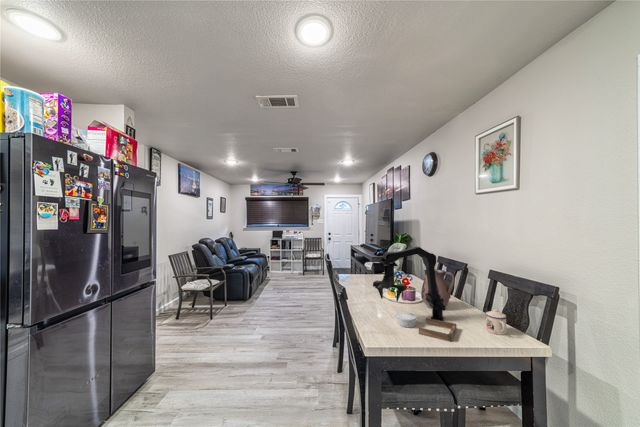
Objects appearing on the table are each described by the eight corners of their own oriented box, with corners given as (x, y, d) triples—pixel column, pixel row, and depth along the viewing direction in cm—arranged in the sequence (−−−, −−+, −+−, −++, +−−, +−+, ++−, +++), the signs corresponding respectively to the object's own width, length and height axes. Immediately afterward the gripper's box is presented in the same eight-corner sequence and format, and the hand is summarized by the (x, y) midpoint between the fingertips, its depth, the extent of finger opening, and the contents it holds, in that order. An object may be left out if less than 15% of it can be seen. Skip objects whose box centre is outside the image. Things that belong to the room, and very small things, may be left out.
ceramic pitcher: (422, 301, 186) (421, 267, 187) (454, 305, 176) (454, 269, 177) (420, 309, 170) (419, 271, 171) (456, 313, 161) (455, 274, 162)
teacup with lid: (482, 327, 139) (482, 306, 140) (500, 328, 138) (499, 306, 139) (495, 337, 128) (494, 314, 128) (514, 338, 127) (514, 314, 127)
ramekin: (408, 330, 137) (408, 320, 137) (392, 323, 146) (392, 314, 146) (421, 325, 143) (421, 316, 143) (404, 319, 152) (404, 310, 153)
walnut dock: (426, 323, 146) (426, 317, 146) (456, 329, 137) (456, 323, 138) (418, 334, 132) (418, 328, 132) (451, 341, 123) (450, 335, 124)
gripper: (368, 274, 150) (369, 300, 149) (400, 278, 139) (400, 306, 138) (376, 271, 159) (376, 296, 158) (406, 274, 148) (406, 301, 147)
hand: (389, 300), depth 150 cm, fingers open, 9 cm apart
